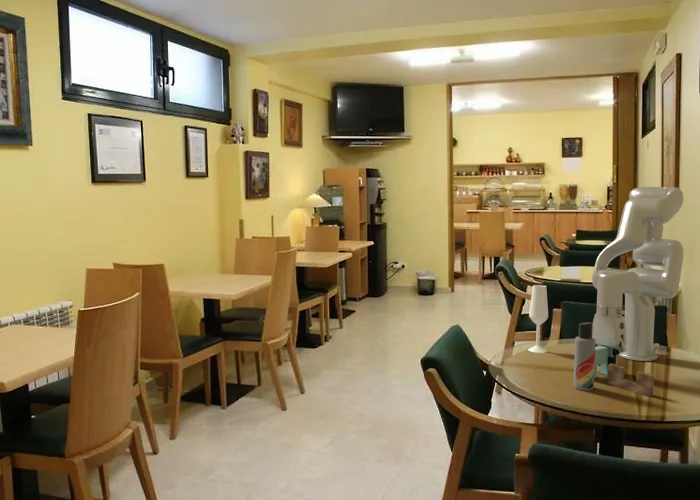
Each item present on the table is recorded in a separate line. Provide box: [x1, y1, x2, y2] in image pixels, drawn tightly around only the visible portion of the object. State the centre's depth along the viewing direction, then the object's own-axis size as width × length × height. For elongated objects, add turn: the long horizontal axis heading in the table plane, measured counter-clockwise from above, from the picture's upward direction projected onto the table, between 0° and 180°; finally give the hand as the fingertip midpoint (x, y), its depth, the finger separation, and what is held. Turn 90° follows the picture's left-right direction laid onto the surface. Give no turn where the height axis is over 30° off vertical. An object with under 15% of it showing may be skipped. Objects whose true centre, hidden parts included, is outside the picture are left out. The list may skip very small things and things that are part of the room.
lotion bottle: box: [573, 321, 595, 392], centre depth 185 cm, size 6×6×20 cm
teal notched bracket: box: [594, 345, 619, 379], centre depth 198 cm, size 15×6×9 cm, turn 120°
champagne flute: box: [527, 284, 549, 354], centre depth 227 cm, size 7×7×24 cm
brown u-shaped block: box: [607, 364, 655, 397], centre depth 184 cm, size 14×2×6 cm, turn 30°
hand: (606, 366), depth 200 cm, fingers closed on teal notched bracket, 2 cm apart
